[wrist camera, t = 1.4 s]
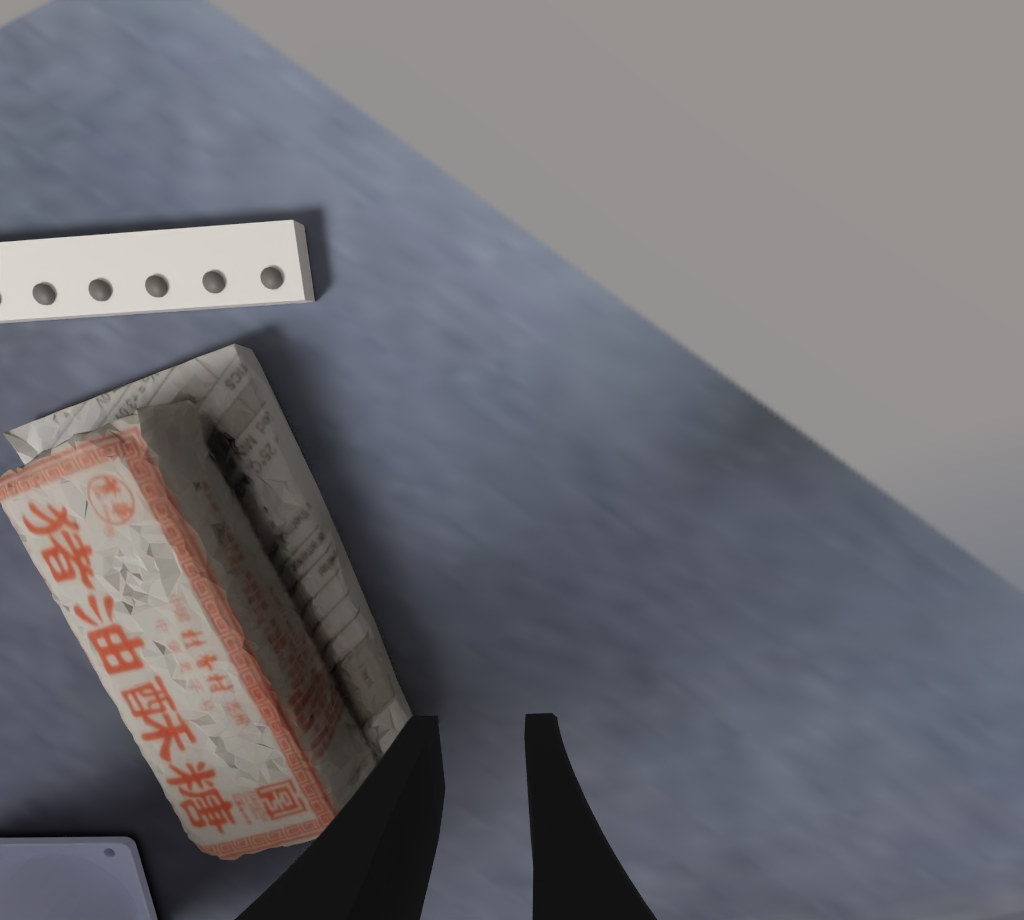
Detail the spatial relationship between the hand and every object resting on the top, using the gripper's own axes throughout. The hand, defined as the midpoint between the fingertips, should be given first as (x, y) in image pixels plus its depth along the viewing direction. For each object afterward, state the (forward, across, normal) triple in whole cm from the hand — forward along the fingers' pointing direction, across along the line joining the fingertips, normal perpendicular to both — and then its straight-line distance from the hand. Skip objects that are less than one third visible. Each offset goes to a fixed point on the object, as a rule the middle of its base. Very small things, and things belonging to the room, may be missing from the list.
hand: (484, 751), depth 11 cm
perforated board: (+8, +14, -12) cm, 20 cm away
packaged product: (+9, +11, 0) cm, 14 cm away
